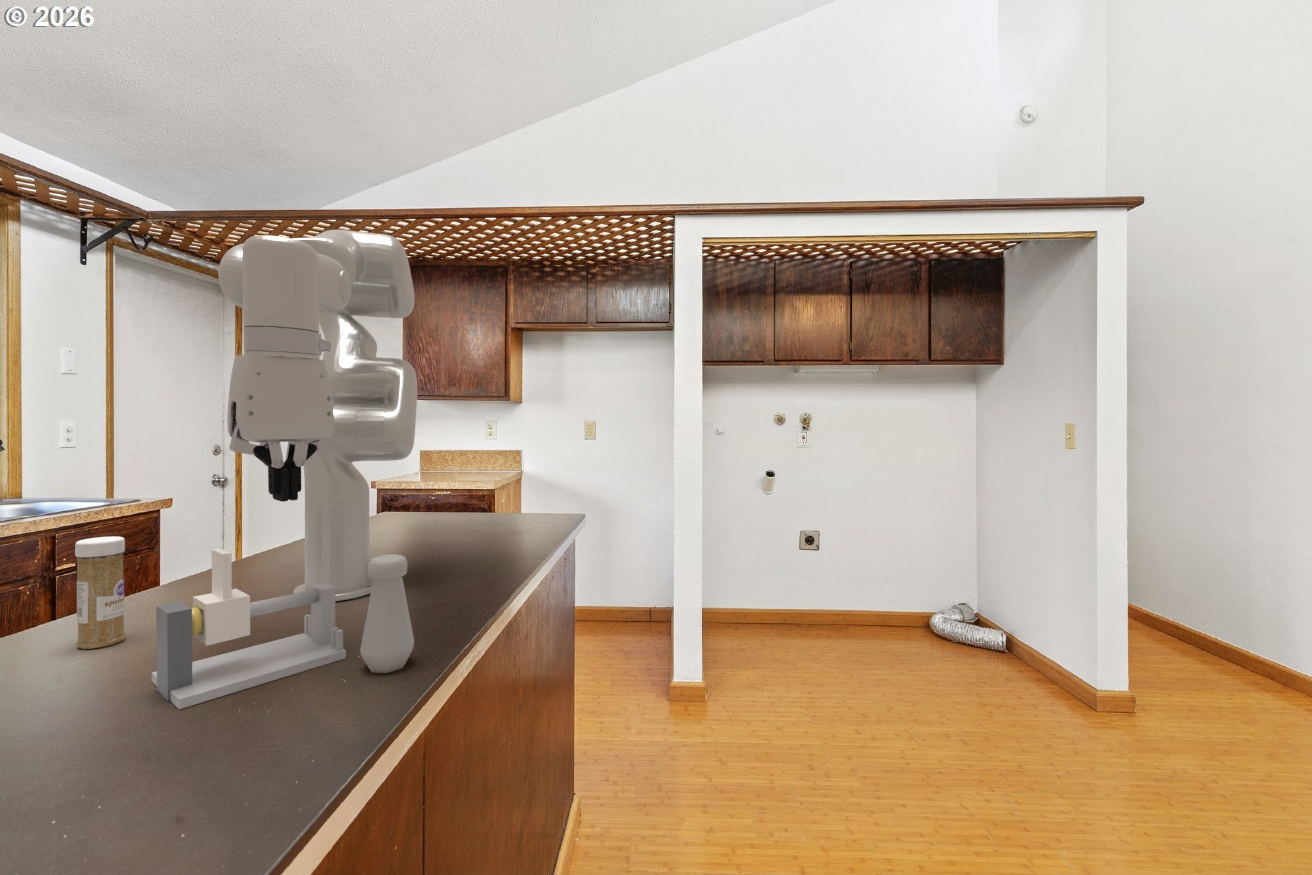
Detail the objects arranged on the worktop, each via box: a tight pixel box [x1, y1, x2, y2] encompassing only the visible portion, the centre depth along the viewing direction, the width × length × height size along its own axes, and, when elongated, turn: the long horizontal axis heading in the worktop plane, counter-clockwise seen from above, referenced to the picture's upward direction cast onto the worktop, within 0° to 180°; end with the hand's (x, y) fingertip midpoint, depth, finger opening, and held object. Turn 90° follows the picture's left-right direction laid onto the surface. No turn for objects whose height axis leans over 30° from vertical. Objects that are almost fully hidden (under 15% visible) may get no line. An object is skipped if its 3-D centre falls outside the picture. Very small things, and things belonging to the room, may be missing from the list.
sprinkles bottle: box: [74, 536, 126, 650], centre depth 73 cm, size 5×5×14 cm
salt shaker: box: [359, 553, 415, 674], centre depth 67 cm, size 6×6×13 cm
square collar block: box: [192, 548, 251, 646], centre depth 63 cm, size 4×4×9 cm
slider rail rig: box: [151, 583, 347, 710], centre depth 66 cm, size 16×10×9 cm, turn 143°
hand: (285, 499), depth 69 cm, fingers closed
